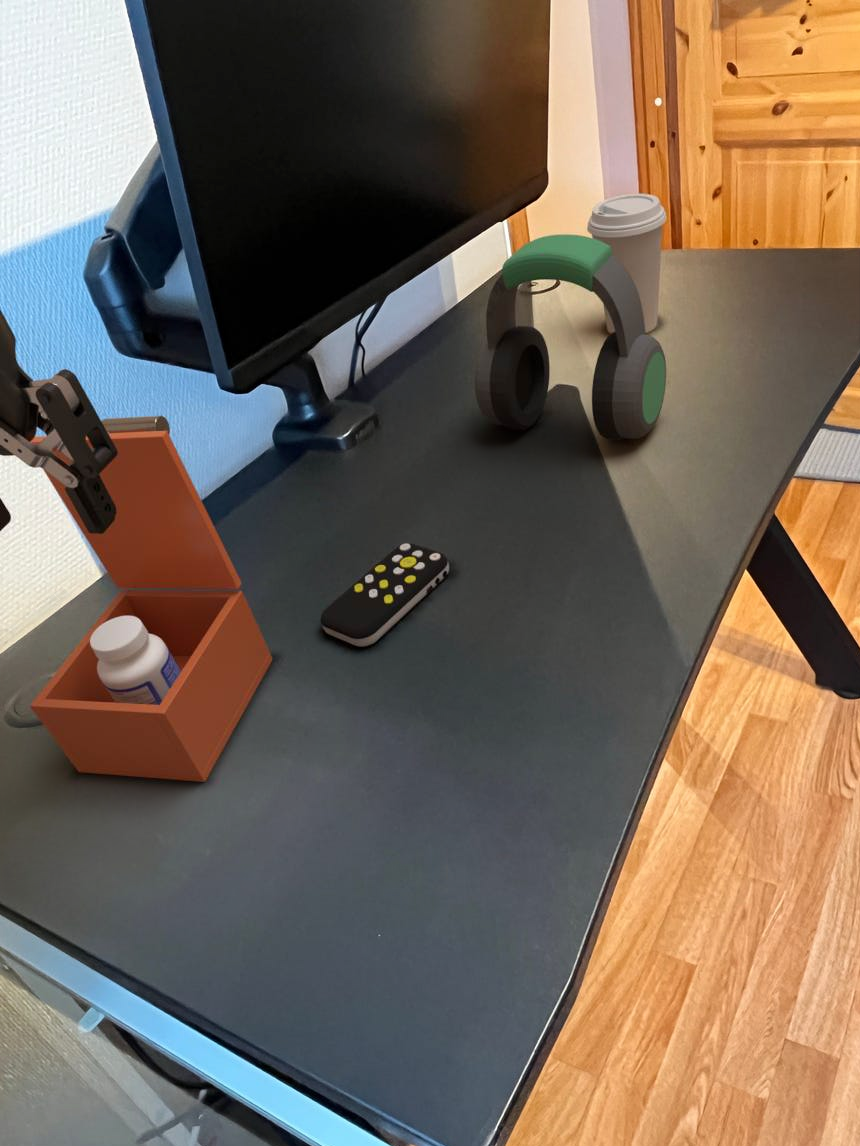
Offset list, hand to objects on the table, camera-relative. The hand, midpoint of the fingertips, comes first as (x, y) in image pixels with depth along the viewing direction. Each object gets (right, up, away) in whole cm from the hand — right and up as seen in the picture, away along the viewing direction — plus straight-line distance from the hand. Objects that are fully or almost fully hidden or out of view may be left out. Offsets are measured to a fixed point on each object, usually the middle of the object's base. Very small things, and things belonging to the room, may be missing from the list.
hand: (50, 527), depth 59 cm
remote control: (+21, -4, +21) cm, 30 cm away
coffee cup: (+49, +34, +56) cm, 82 cm away
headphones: (+39, +16, +39) cm, 58 cm away
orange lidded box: (+4, -14, +14) cm, 20 cm away
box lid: (+2, +2, +9) cm, 9 cm away
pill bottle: (+3, -14, +13) cm, 20 cm away
